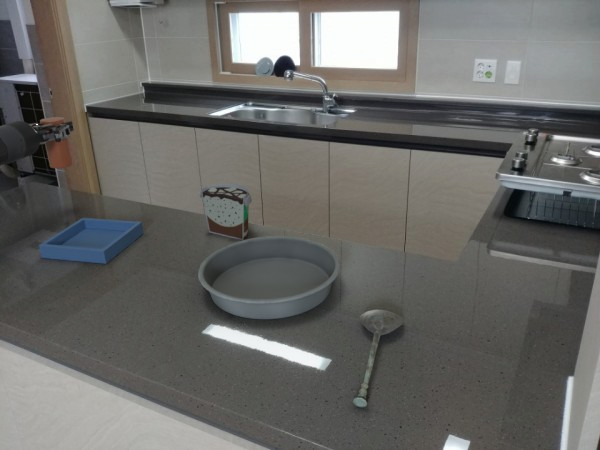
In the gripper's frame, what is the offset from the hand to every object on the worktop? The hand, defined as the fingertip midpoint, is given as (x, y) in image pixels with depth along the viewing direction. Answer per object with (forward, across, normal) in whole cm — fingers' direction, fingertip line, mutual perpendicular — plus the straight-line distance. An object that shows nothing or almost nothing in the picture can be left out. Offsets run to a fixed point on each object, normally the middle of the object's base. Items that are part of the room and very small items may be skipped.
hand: (61, 125), depth 126 cm
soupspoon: (-45, -79, +21) cm, 94 cm away
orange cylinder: (-3, 0, +9) cm, 9 cm away
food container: (-7, -44, +21) cm, 50 cm away
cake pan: (-29, -59, +21) cm, 69 cm away
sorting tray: (-19, -17, +21) cm, 33 cm away
